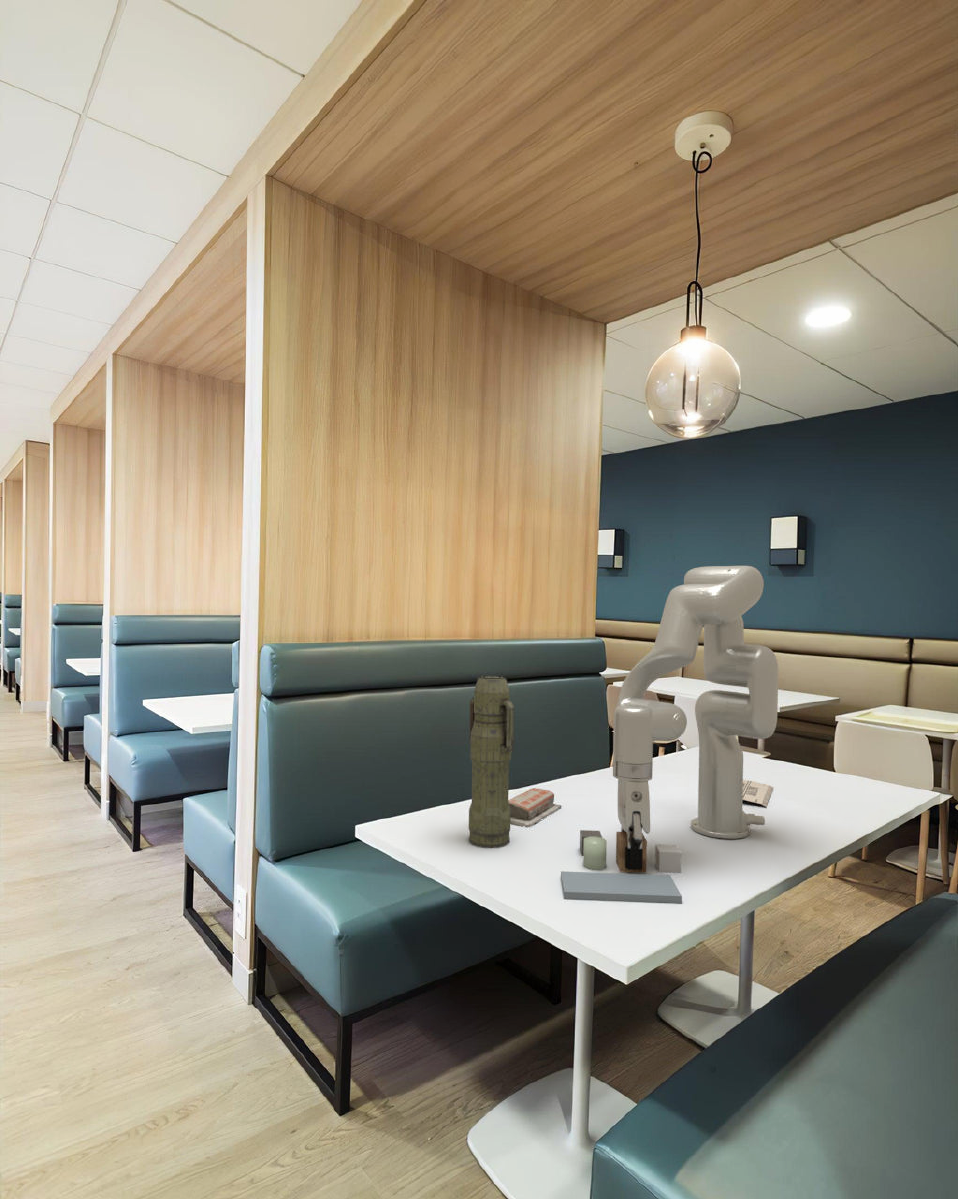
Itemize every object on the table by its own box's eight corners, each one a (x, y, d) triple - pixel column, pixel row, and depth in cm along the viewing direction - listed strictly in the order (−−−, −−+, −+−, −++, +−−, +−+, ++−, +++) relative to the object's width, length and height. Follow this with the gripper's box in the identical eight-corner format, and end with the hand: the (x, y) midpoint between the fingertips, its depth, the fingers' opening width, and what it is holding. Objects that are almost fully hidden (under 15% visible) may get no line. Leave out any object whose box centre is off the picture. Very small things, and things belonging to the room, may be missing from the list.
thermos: (480, 829, 154) (483, 673, 154) (523, 841, 146) (526, 677, 147) (454, 839, 147) (457, 676, 147) (498, 853, 140) (501, 680, 140)
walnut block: (641, 863, 136) (641, 832, 136) (646, 872, 131) (646, 841, 131) (616, 862, 136) (616, 831, 136) (619, 872, 131) (620, 840, 131)
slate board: (669, 882, 127) (670, 875, 127) (681, 903, 118) (682, 896, 118) (560, 877, 128) (560, 871, 128) (564, 898, 119) (564, 891, 119)
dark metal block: (599, 850, 143) (599, 830, 143) (601, 857, 139) (602, 837, 139) (579, 849, 143) (580, 830, 143) (581, 856, 139) (582, 836, 139)
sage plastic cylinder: (604, 862, 136) (605, 836, 136) (607, 871, 131) (608, 844, 131) (582, 861, 136) (582, 836, 136) (584, 870, 132) (584, 844, 132)
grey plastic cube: (675, 865, 135) (675, 845, 135) (680, 873, 131) (680, 852, 131) (654, 864, 135) (655, 844, 135) (659, 872, 131) (659, 851, 131)
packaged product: (526, 784, 176) (562, 790, 171) (525, 803, 176) (561, 810, 171) (491, 801, 161) (529, 808, 156) (491, 822, 161) (529, 830, 156)
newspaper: (727, 784, 199) (728, 775, 199) (772, 794, 193) (773, 786, 193) (714, 803, 179) (716, 793, 179) (765, 815, 173) (766, 806, 173)
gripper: (661, 781, 125) (659, 881, 125) (643, 759, 142) (642, 848, 142) (619, 780, 125) (618, 880, 125) (607, 758, 142) (605, 847, 142)
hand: (630, 862), depth 133 cm, fingers closed on walnut block, 5 cm apart
